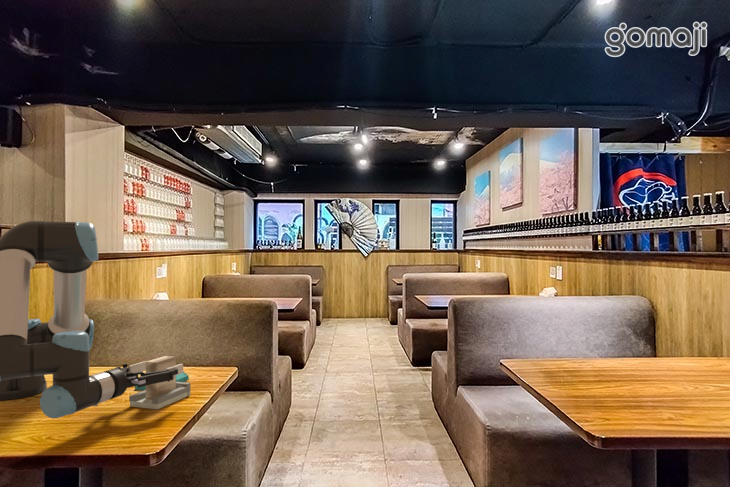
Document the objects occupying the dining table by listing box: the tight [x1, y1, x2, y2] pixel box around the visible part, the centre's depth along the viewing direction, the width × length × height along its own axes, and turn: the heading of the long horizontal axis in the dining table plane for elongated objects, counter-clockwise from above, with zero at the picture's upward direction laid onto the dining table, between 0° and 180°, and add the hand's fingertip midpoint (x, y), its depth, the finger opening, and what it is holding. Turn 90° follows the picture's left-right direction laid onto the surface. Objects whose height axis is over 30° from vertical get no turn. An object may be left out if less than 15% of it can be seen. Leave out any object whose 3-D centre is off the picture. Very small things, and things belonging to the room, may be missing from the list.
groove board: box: [128, 381, 191, 410], centre depth 140 cm, size 10×14×4 cm
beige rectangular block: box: [145, 355, 177, 400], centre depth 140 cm, size 4×8×11 cm, turn 162°
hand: (163, 366), depth 141 cm, fingers open, 13 cm apart
